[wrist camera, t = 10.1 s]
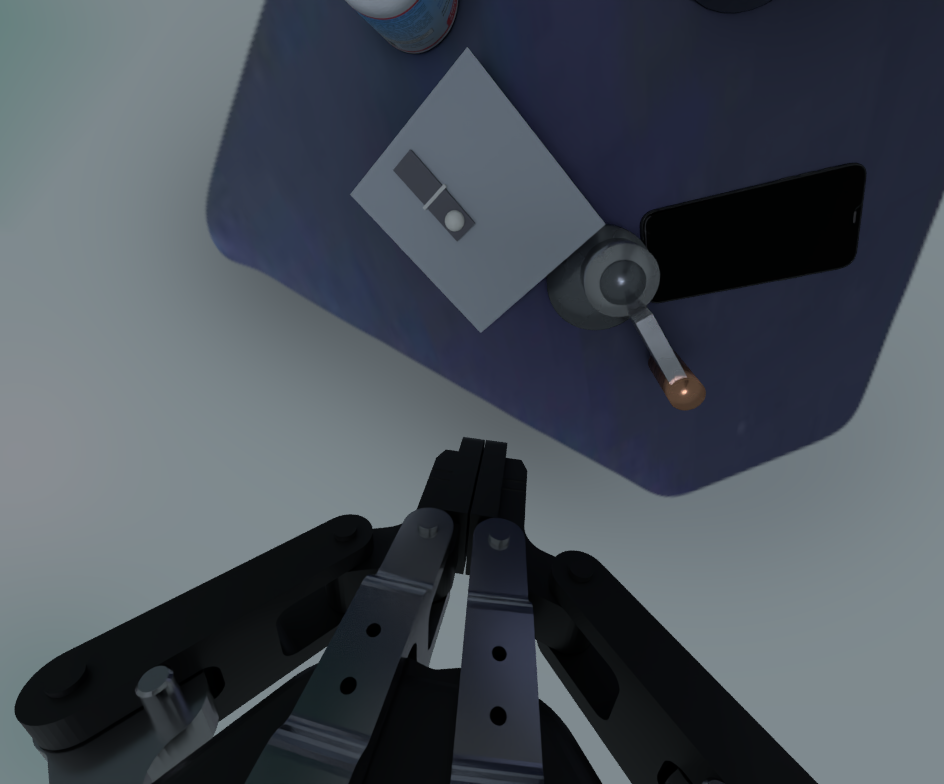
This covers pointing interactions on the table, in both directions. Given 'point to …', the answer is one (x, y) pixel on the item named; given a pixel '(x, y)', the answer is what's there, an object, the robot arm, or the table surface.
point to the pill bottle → (409, 21)
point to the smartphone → (757, 233)
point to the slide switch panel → (476, 196)
